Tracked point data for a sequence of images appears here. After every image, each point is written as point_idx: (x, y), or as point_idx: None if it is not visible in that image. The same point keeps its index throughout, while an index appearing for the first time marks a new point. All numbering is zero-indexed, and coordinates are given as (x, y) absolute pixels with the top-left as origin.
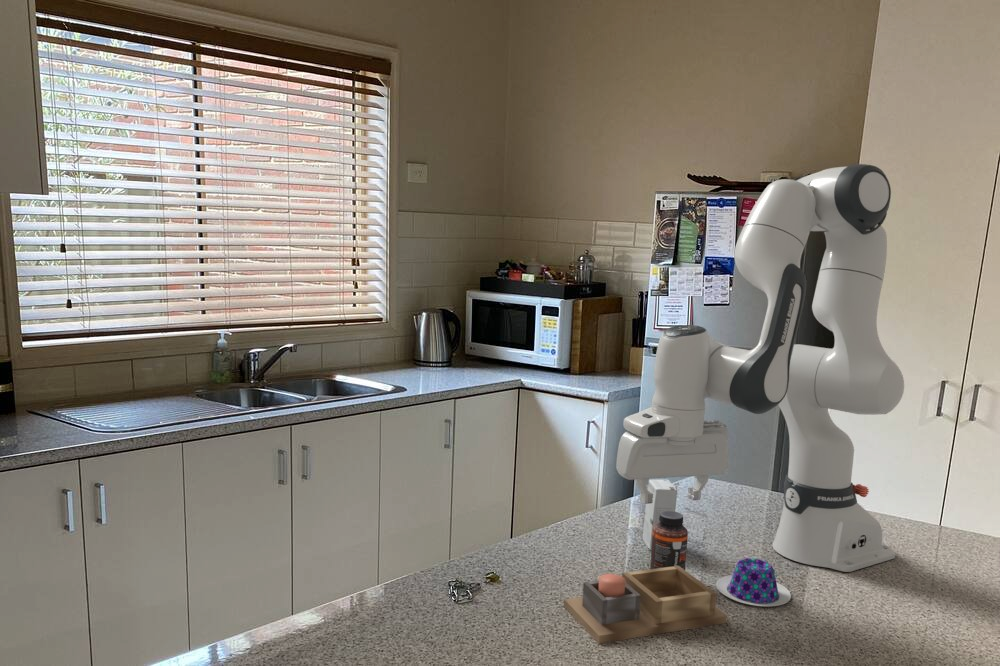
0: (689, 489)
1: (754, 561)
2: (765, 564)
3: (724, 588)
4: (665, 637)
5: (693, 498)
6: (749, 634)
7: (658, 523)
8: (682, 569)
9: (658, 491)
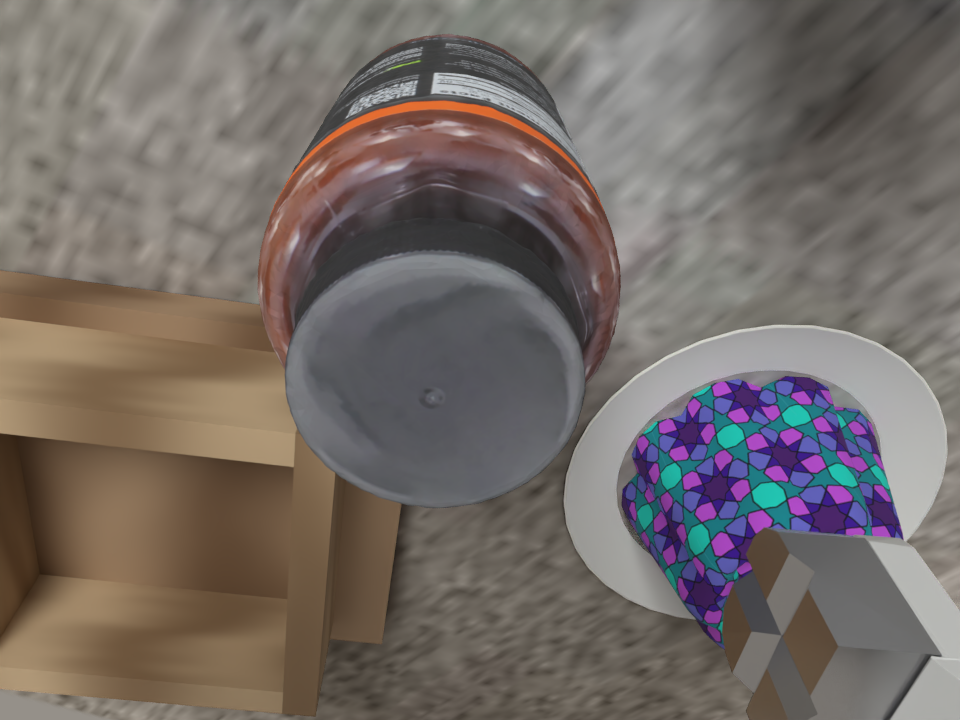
0: (818, 663)
1: None
2: None
3: (649, 406)
4: None
5: (732, 656)
6: (406, 690)
7: (329, 240)
8: (326, 485)
9: None
